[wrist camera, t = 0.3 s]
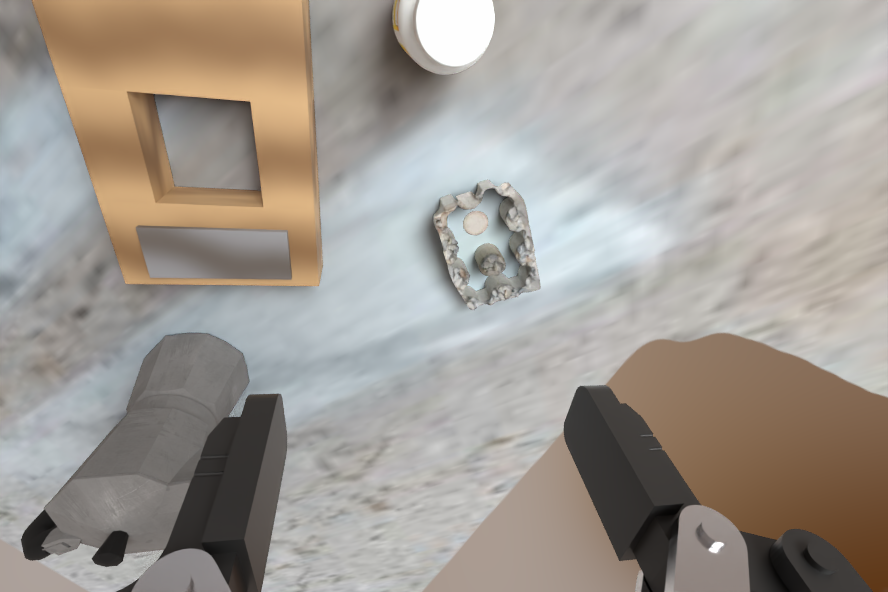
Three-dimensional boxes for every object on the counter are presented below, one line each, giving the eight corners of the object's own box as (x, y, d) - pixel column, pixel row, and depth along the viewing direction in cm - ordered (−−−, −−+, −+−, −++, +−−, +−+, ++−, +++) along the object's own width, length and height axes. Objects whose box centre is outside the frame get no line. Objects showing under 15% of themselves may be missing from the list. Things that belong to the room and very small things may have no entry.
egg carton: (424, 197, 36) (429, 215, 33) (509, 168, 36) (524, 183, 33) (457, 297, 42) (465, 321, 39) (531, 273, 42) (546, 295, 38)
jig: (55, -47, 25) (7, -56, 22) (307, -14, 27) (299, -19, 24) (145, 262, 35) (123, 286, 32) (322, 265, 38) (318, 288, 35)
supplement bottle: (378, -11, 28) (383, -23, 20) (456, -44, 28) (492, -70, 20) (409, 76, 31) (424, 96, 23) (480, 47, 31) (519, 58, 23)
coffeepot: (232, 307, 39) (147, 489, 24) (287, 377, 44) (245, 563, 29) (80, 366, 40) (-94, 576, 25) (152, 427, 45) (44, 632, 30)
